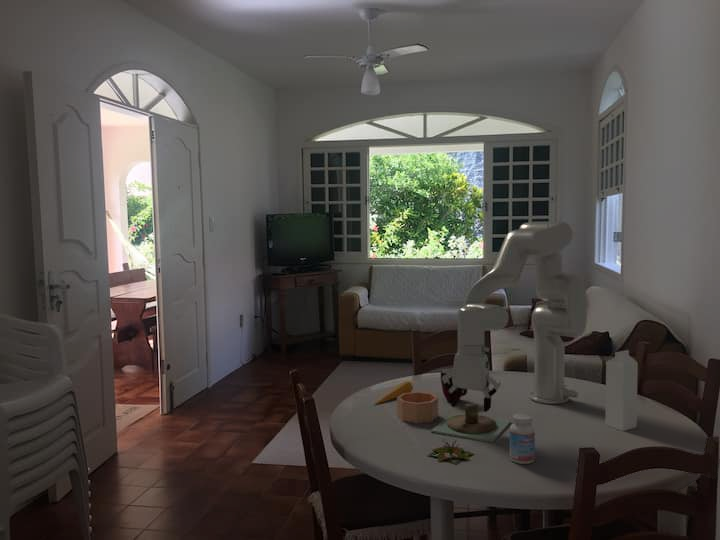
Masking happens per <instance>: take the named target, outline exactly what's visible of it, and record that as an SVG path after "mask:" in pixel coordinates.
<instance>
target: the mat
mask: <svg viewBox="0 0 720 540" xmlns="http://www.w3.org/2000/svg"><path fill="white" fill-rule="evenodd" d="M464 414H465V413H459V412H454V411H453V412H452V413H450V414H449V415H448V416H447V417H445V418H444V419H443V420H441V422H439V423H438V424H437V425H436V426H434V427H433V428H432V429H431V430H430V433H432V432H434V433H433V434H438V433H440V434H439V435H443V434H446V436H449V435H451V437H455V436H457V437H456V438H461V437H463V439H467V438H468V439H469V440H473V441H474V440H475V441H481V442H485V443H494V442H495V441H496V440H497V439H498V438H499V436H500V435H501V434H502V433H503V432H504V431H505V430H506V429H507V428H508V426H509V425H511V422H512V420H507V419H501V418H494V417H490V418H491V419H493V420H494V421H495V422H496V429H495V430H493V431H491V432H488V433H483V434H466V433H460V432H457V431H454V430H452V429H450V428H449V427H448V426H447V420H448V419H449V418H451V417H453V416H456V415H464Z"/></svg>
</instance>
